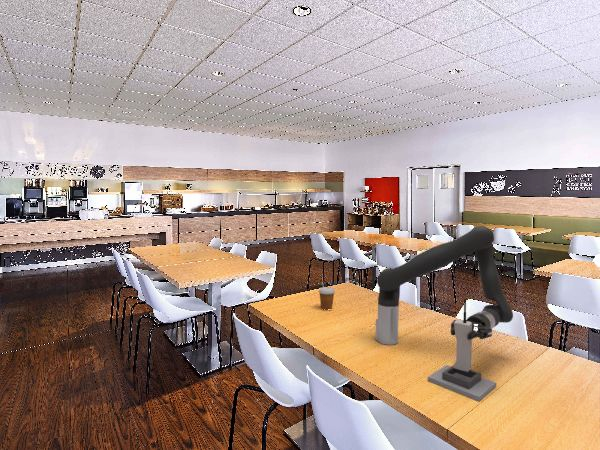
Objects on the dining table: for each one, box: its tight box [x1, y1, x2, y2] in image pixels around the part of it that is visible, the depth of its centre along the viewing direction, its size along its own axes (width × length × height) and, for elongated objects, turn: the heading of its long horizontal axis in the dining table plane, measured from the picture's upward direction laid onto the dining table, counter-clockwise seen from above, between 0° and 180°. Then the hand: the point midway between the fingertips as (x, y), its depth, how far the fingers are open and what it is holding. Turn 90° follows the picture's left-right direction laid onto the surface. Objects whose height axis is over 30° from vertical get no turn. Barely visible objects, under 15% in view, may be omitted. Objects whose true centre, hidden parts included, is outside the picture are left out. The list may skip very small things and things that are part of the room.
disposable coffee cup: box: [318, 286, 336, 311], centre depth 217 cm, size 10×10×12 cm
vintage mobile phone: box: [452, 299, 473, 372], centre depth 130 cm, size 4×5×25 cm
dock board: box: [427, 364, 497, 402], centre depth 131 cm, size 18×14×4 cm
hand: (460, 334), depth 128 cm, fingers closed on vintage mobile phone, 5 cm apart
